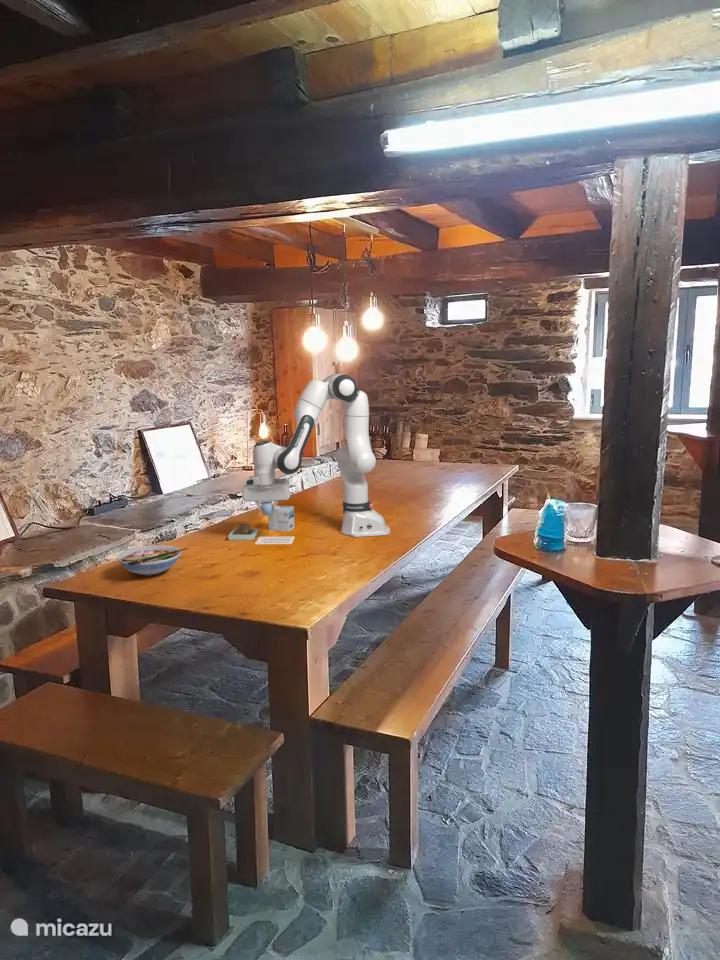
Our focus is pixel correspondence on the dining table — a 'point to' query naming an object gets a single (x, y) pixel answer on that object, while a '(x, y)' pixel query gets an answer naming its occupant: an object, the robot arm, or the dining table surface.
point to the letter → (275, 540)
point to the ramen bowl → (149, 559)
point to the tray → (235, 537)
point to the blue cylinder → (267, 508)
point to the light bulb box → (282, 519)
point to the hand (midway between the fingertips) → (267, 510)
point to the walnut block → (243, 529)
